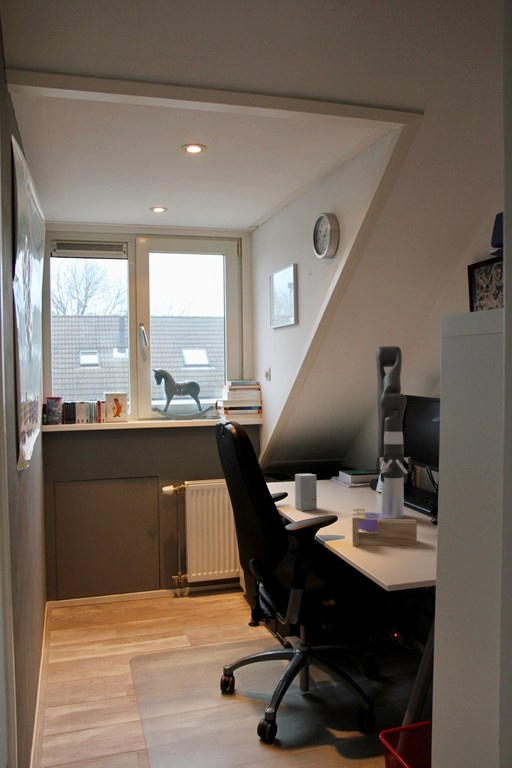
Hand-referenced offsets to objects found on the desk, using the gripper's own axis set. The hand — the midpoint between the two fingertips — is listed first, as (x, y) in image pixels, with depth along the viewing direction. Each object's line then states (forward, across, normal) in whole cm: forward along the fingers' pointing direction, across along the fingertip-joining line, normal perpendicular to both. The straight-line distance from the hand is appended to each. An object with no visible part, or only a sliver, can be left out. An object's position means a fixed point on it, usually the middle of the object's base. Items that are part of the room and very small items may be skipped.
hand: (393, 482), depth 256 cm
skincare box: (+16, +38, -25) cm, 48 cm away
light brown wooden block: (+19, 0, +22) cm, 29 cm away
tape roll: (+18, +9, +3) cm, 20 cm away
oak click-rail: (+19, +6, +22) cm, 30 cm away
